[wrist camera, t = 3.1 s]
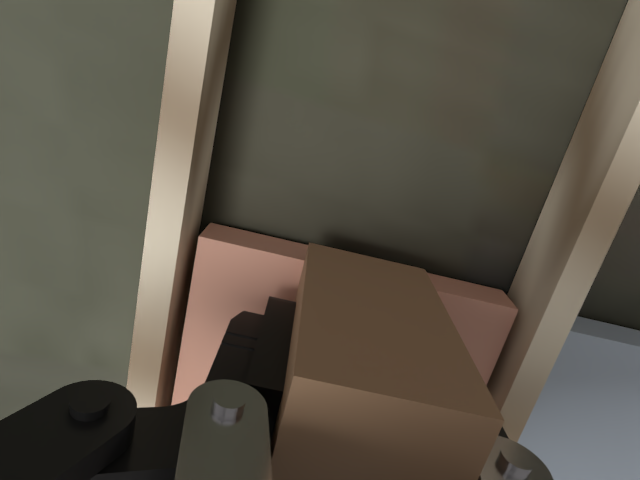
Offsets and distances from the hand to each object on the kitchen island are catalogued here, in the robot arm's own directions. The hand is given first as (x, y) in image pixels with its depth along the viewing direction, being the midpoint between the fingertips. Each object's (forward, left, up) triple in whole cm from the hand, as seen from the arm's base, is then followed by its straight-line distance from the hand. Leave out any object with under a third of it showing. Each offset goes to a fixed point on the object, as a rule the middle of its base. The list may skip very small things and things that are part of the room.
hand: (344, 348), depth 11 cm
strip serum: (+6, 0, -2) cm, 6 cm away
